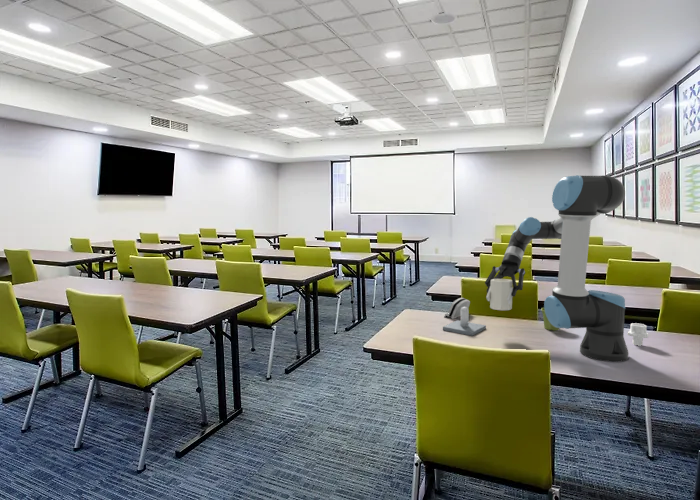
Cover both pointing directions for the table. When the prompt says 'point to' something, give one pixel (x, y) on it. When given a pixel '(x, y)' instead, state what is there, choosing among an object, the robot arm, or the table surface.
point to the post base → (465, 329)
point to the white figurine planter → (638, 333)
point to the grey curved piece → (457, 307)
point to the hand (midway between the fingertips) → (498, 300)
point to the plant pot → (546, 322)
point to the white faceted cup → (500, 294)
